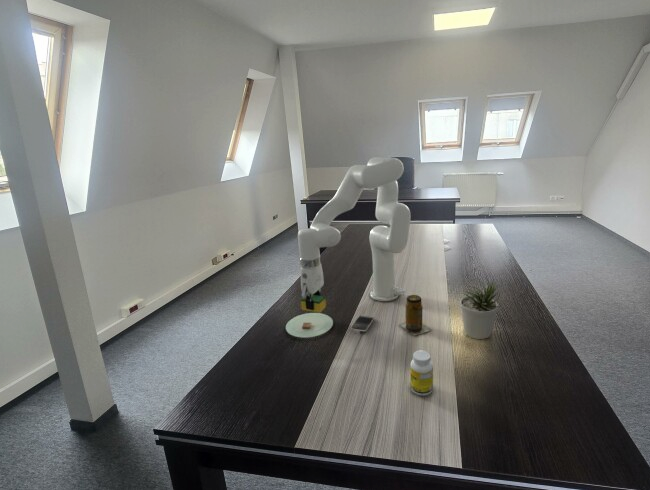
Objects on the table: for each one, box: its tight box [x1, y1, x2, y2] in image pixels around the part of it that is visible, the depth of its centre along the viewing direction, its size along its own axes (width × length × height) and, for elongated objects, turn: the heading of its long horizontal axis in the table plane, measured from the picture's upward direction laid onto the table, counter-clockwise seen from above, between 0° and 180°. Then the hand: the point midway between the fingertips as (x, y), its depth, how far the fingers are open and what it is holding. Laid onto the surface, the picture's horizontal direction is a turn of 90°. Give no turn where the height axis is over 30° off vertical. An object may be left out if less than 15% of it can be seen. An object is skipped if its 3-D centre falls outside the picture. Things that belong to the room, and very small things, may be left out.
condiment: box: [400, 294, 431, 337], centre depth 131 cm, size 7×8×12 cm
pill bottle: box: [409, 349, 434, 396], centre depth 100 cm, size 6×6×11 cm
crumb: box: [302, 323, 311, 329], centre depth 135 cm, size 3×3×1 cm
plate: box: [285, 312, 334, 338], centre depth 137 cm, size 18×18×1 cm
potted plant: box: [459, 281, 501, 340], centre depth 124 cm, size 13×14×20 cm
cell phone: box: [350, 315, 375, 334], centre depth 136 cm, size 6×11×1 cm, turn 158°
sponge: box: [300, 294, 327, 313], centre depth 139 cm, size 8×5×4 cm, turn 68°
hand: (313, 305), depth 140 cm, fingers closed on sponge, 5 cm apart
